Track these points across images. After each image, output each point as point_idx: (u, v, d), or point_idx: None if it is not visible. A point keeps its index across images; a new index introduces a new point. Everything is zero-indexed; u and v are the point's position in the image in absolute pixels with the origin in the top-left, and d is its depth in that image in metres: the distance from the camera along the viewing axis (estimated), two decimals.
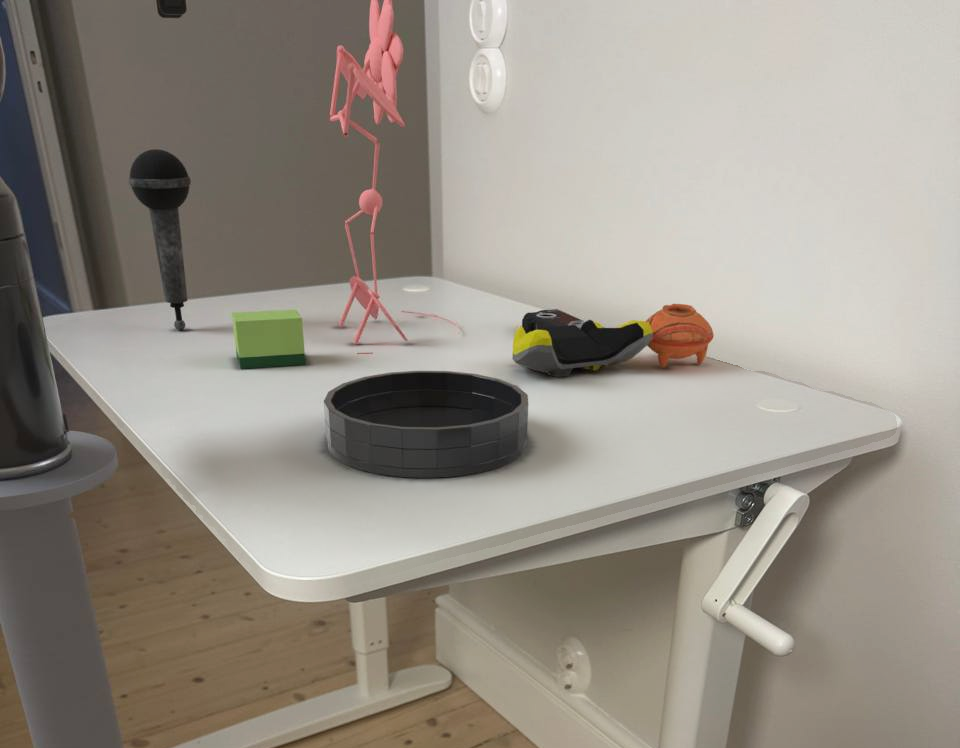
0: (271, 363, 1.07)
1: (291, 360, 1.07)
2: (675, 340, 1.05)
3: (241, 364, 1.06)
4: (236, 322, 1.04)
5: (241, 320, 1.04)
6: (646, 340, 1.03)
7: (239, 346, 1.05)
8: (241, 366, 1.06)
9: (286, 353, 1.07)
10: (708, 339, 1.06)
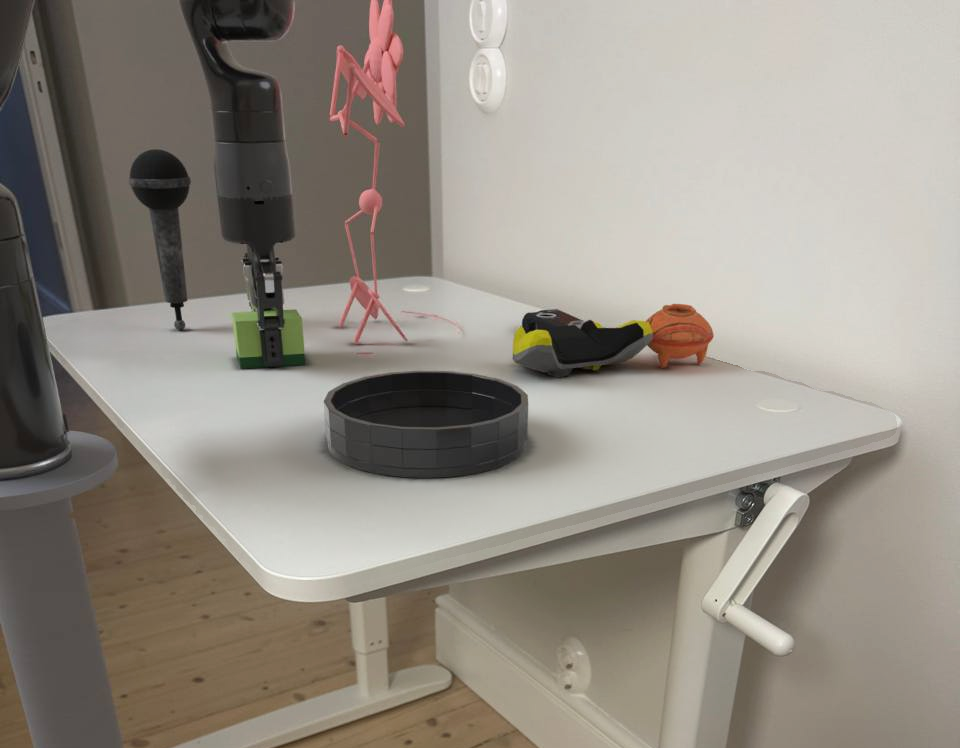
0: None
1: (291, 360, 1.07)
2: (675, 340, 1.05)
3: (241, 364, 1.06)
4: (236, 322, 1.04)
5: (241, 320, 1.04)
6: (646, 340, 1.03)
7: (239, 346, 1.05)
8: (241, 366, 1.06)
9: (286, 353, 1.07)
10: (708, 339, 1.06)
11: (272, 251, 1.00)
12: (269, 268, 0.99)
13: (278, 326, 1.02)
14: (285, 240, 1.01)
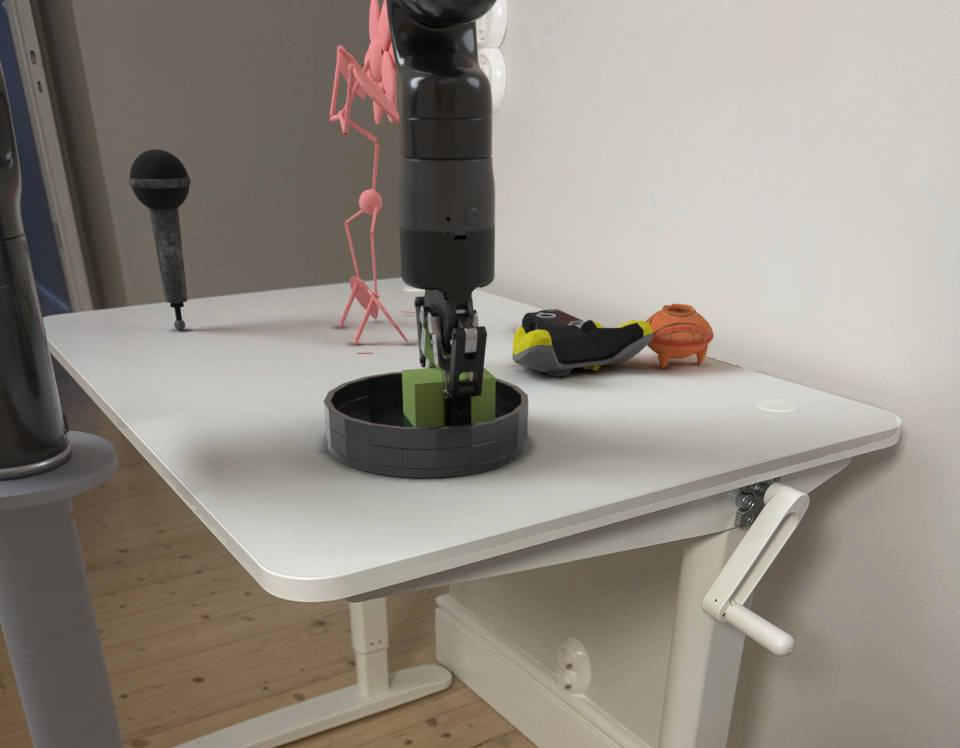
0: None
1: None
2: (675, 340, 1.05)
3: None
4: (415, 385, 0.81)
5: (421, 382, 0.81)
6: (646, 340, 1.03)
7: (416, 415, 0.82)
8: None
9: (473, 422, 0.84)
10: (708, 339, 1.06)
11: (471, 299, 0.77)
12: (469, 322, 0.76)
13: (473, 394, 0.79)
14: (486, 284, 0.78)
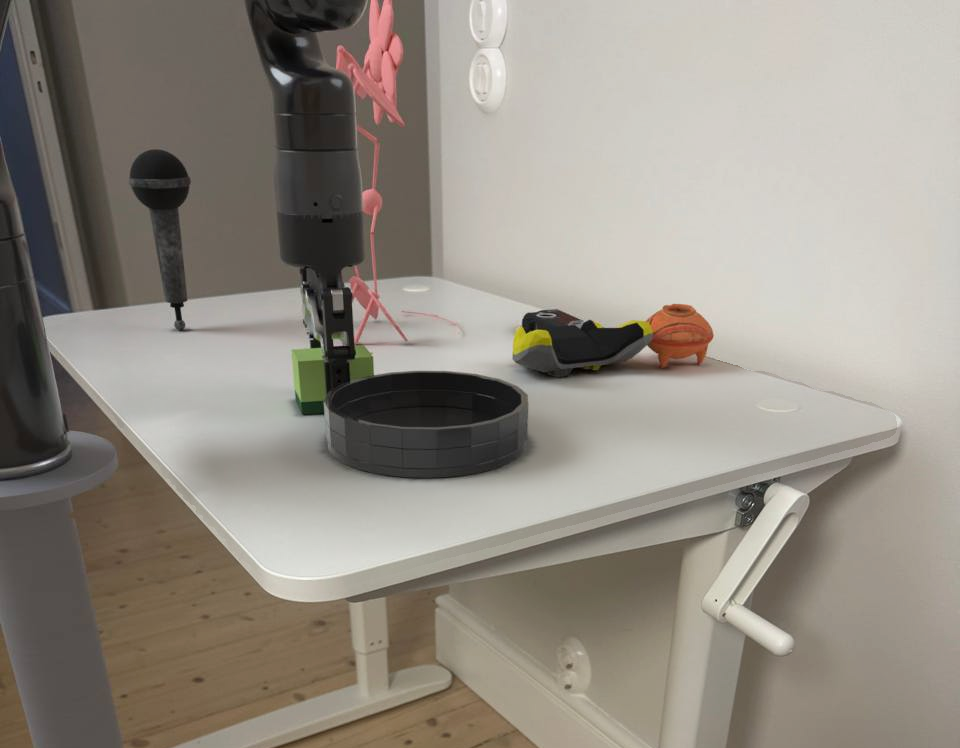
0: None
1: None
2: (675, 341, 1.05)
3: (303, 409, 0.92)
4: (299, 362, 0.90)
5: (304, 360, 0.90)
6: (646, 340, 1.03)
7: (301, 389, 0.91)
8: (303, 412, 0.92)
9: None
10: (708, 339, 1.06)
11: (340, 277, 0.86)
12: None
13: (348, 356, 0.86)
14: (355, 264, 0.87)
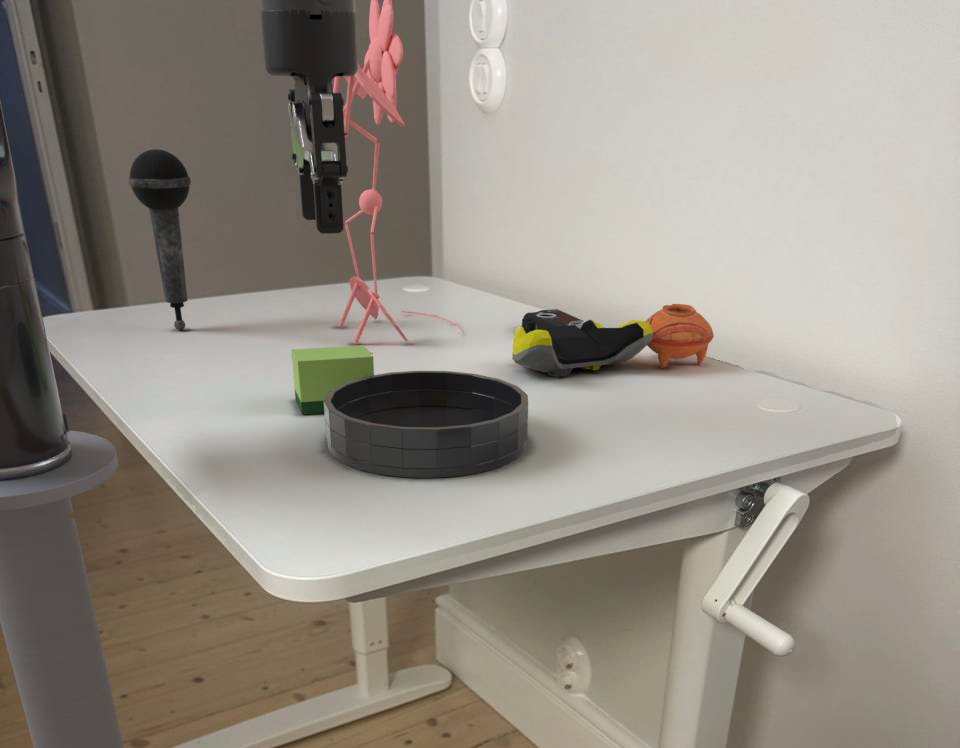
0: None
1: None
2: (674, 340, 1.05)
3: (303, 409, 0.92)
4: (299, 362, 0.90)
5: (304, 360, 0.90)
6: (646, 340, 1.03)
7: (301, 389, 0.91)
8: (303, 412, 0.92)
9: None
10: (708, 339, 1.06)
11: (330, 85, 0.79)
12: None
13: (339, 173, 0.79)
14: (346, 73, 0.79)
